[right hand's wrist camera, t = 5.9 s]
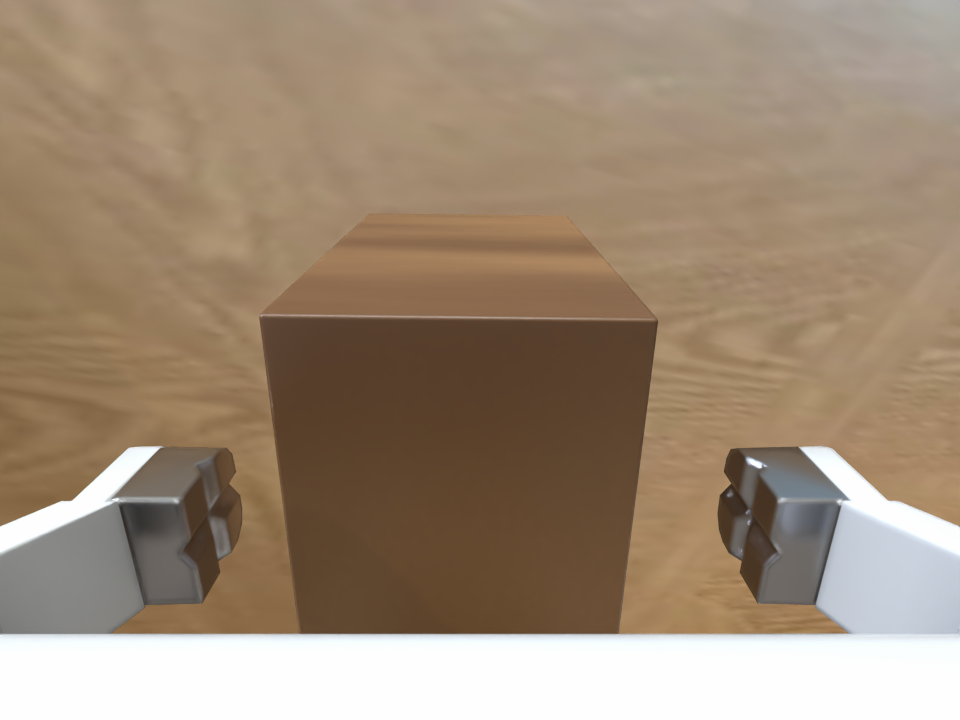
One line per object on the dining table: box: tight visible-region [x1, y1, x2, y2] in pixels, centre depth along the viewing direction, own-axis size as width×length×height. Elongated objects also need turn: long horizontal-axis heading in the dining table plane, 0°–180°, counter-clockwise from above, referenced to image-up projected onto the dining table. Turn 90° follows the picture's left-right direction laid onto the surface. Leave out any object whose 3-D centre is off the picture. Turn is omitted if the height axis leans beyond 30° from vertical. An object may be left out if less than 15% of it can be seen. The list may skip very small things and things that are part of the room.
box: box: [259, 214, 658, 634], centre depth 18 cm, size 22×6×10 cm, turn 179°
